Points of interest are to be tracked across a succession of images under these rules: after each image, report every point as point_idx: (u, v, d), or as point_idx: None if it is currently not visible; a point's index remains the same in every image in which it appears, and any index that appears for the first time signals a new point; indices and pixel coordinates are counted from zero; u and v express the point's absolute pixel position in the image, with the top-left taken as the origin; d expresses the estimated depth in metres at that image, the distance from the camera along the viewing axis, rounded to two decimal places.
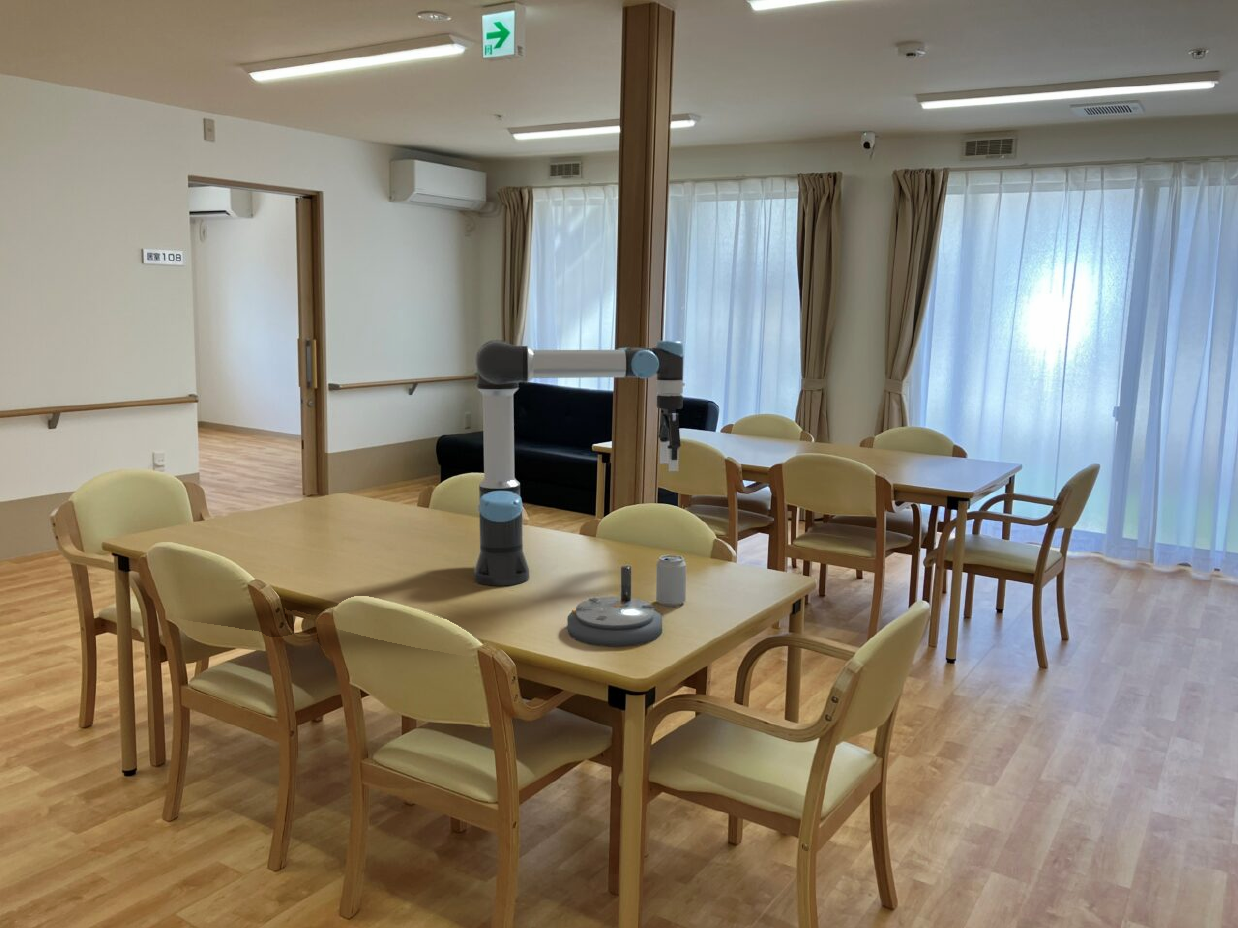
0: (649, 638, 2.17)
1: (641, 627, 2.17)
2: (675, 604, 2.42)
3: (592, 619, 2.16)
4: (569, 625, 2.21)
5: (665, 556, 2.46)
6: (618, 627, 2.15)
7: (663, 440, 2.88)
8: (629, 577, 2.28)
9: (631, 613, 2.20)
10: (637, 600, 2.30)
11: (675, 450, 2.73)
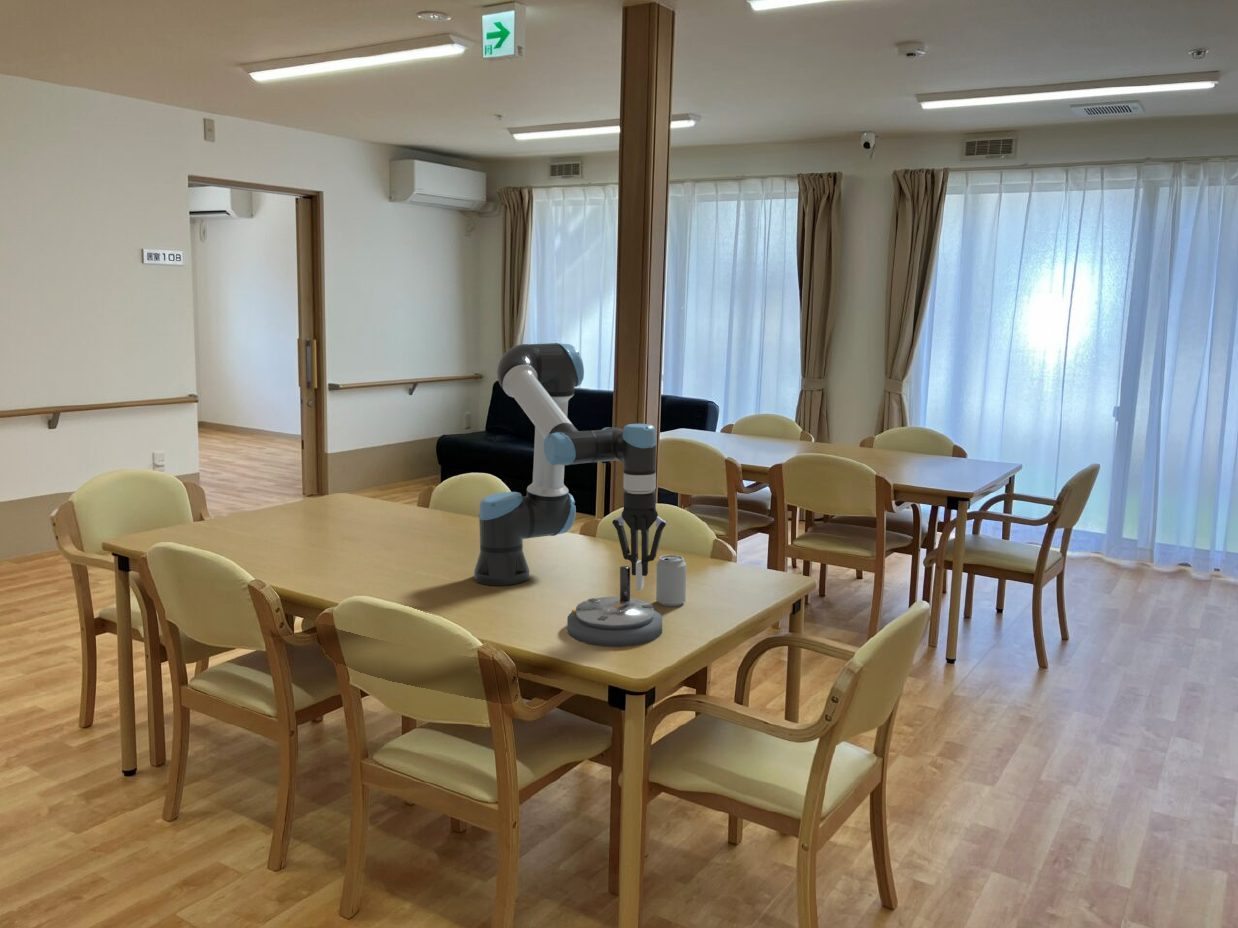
0: (649, 638, 2.17)
1: (641, 627, 2.17)
2: (675, 604, 2.42)
3: (593, 620, 2.16)
4: (569, 625, 2.21)
5: (665, 556, 2.46)
6: (619, 627, 2.15)
7: (636, 560, 2.28)
8: (628, 576, 2.29)
9: (632, 613, 2.20)
10: (636, 600, 2.30)
11: (647, 563, 2.28)
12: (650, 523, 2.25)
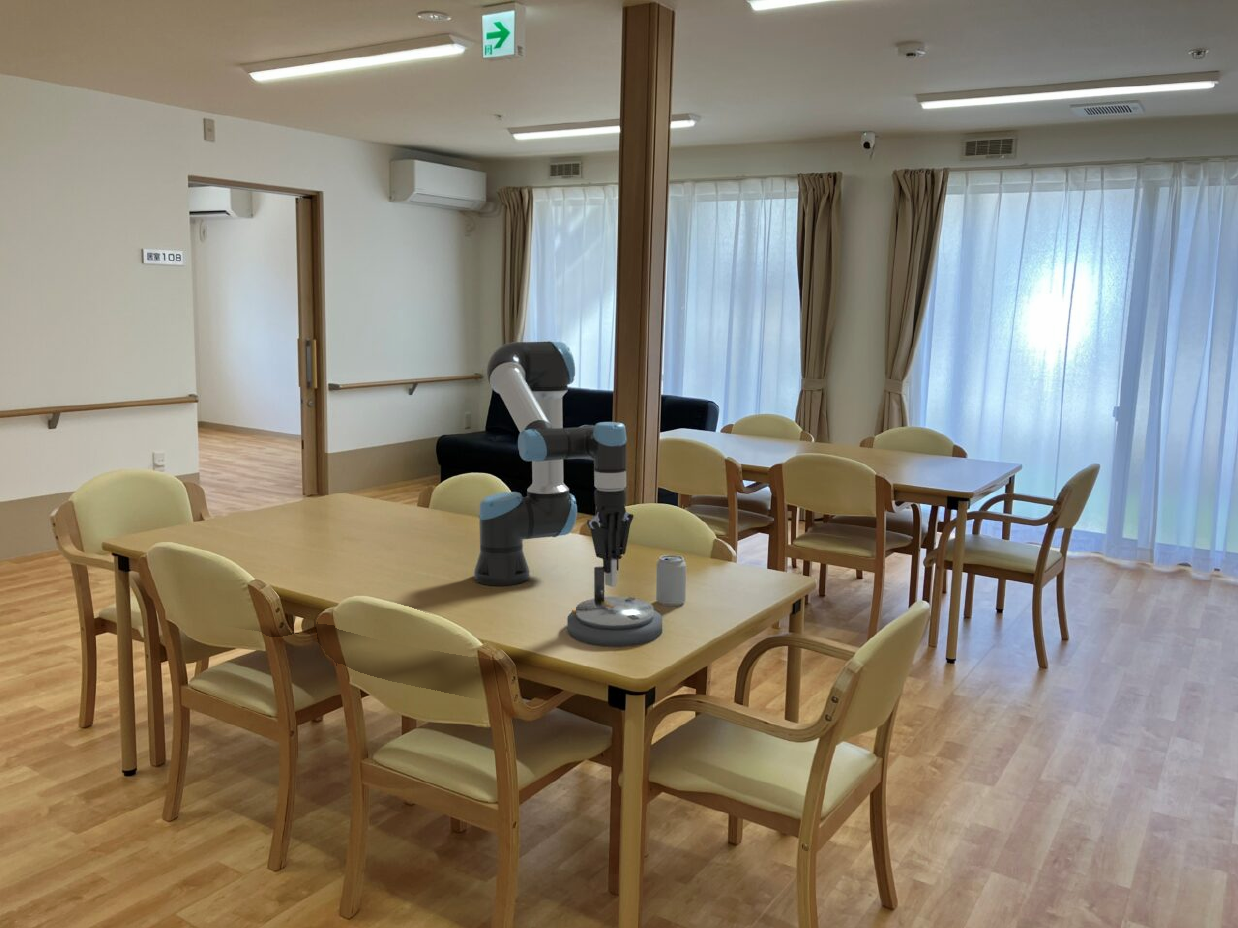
0: (649, 638, 2.17)
1: (641, 627, 2.17)
2: (675, 604, 2.42)
3: (628, 621, 2.16)
4: (569, 625, 2.21)
5: (665, 556, 2.46)
6: (648, 621, 2.20)
7: None
8: None
9: (637, 607, 2.25)
10: (607, 598, 2.32)
11: None
12: (622, 518, 2.30)
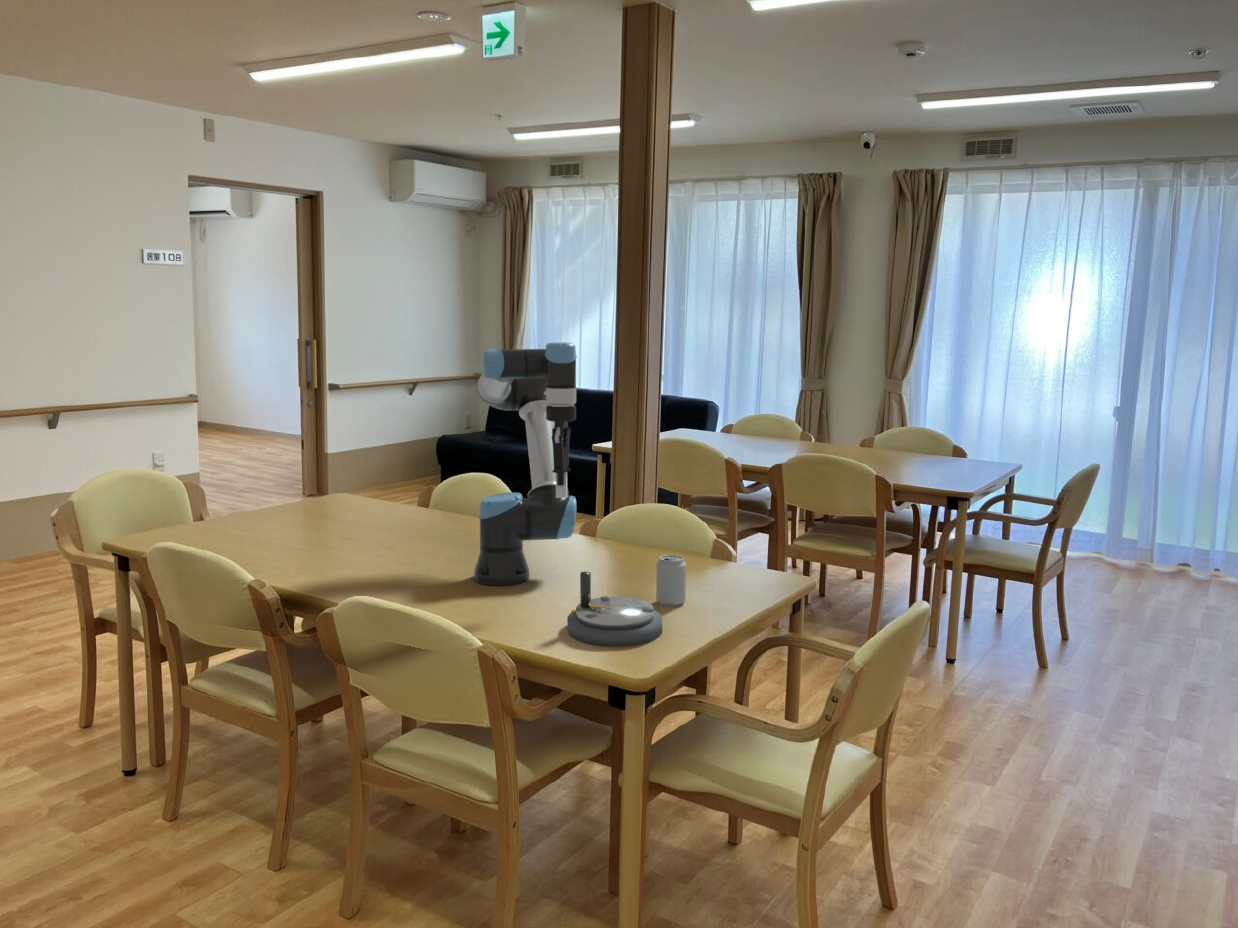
0: (649, 638, 2.17)
1: (641, 627, 2.17)
2: (675, 604, 2.42)
3: (650, 614, 2.20)
4: (569, 625, 2.21)
5: (665, 556, 2.46)
6: None
7: None
8: None
9: (627, 602, 2.28)
10: None
11: None
12: None
